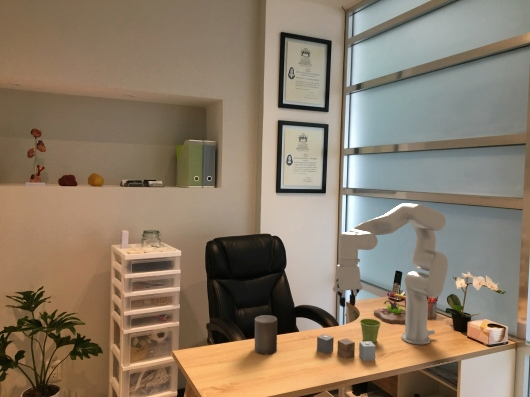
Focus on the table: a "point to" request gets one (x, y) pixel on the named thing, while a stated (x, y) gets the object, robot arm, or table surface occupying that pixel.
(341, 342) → the walnut block
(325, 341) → the charcoal block
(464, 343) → the table surface
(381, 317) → the plant
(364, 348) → the slate block
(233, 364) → the table surface
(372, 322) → the plant pot
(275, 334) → the pillar candle
